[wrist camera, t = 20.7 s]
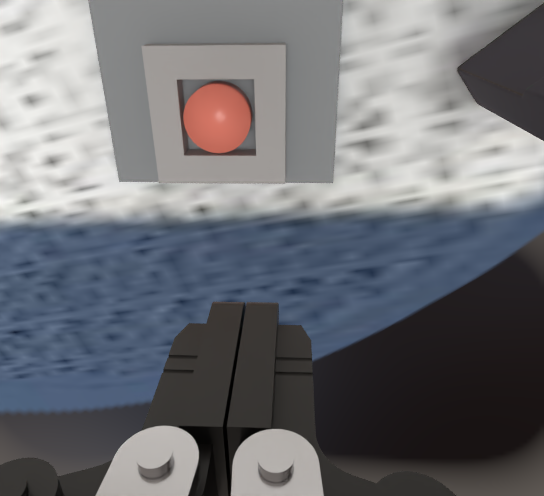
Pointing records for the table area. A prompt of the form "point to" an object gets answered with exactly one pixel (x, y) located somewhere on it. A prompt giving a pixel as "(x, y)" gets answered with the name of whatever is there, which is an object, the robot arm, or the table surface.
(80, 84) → the table surface
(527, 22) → the dark grey upright block
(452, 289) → the table surface
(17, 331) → the table surface
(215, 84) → the button
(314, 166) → the board
